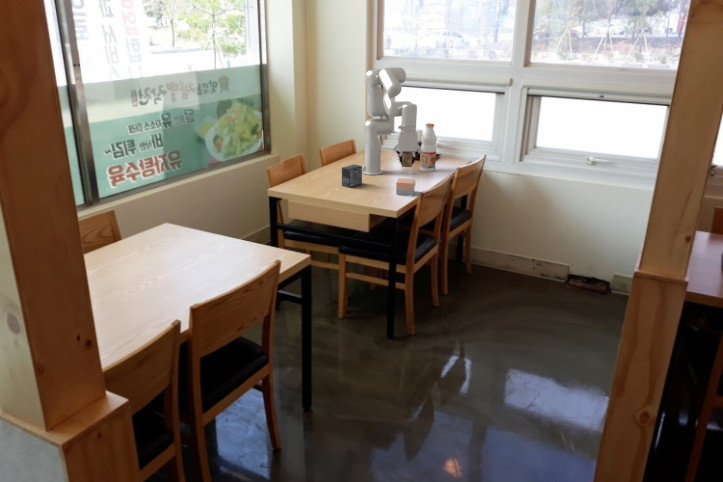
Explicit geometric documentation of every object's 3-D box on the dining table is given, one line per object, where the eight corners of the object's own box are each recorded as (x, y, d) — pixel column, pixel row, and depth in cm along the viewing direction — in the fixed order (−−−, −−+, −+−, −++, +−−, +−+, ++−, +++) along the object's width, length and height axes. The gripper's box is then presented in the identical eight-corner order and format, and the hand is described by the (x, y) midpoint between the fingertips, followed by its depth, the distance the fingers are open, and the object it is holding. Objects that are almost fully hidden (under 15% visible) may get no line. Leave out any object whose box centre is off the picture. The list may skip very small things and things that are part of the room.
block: (401, 166, 305) (402, 153, 303) (402, 164, 310) (402, 151, 307) (411, 167, 304) (412, 153, 302) (411, 165, 309) (412, 151, 307)
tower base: (396, 195, 309) (396, 189, 308) (397, 190, 317) (397, 184, 316) (413, 196, 308) (413, 190, 307) (414, 191, 316) (414, 185, 315)
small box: (353, 182, 331) (353, 163, 327) (362, 184, 327) (362, 165, 323) (340, 185, 323) (341, 167, 320) (350, 188, 319) (350, 169, 316)
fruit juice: (419, 168, 365) (422, 122, 356) (435, 169, 364) (438, 123, 354) (418, 171, 357) (421, 124, 347) (434, 172, 355) (437, 125, 346)
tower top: (396, 189, 308) (396, 182, 307) (398, 184, 316) (398, 178, 315) (413, 190, 306) (413, 183, 305) (415, 185, 315) (415, 179, 314)
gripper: (391, 129, 298) (389, 164, 304) (425, 130, 296) (423, 166, 302) (392, 126, 305) (391, 161, 311) (425, 128, 303) (423, 163, 309)
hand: (407, 163), depth 307 cm, fingers closed on block, 5 cm apart
